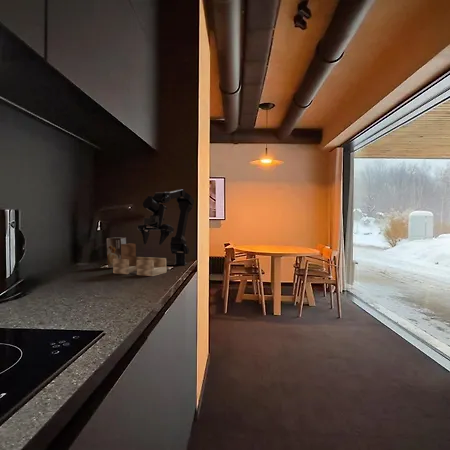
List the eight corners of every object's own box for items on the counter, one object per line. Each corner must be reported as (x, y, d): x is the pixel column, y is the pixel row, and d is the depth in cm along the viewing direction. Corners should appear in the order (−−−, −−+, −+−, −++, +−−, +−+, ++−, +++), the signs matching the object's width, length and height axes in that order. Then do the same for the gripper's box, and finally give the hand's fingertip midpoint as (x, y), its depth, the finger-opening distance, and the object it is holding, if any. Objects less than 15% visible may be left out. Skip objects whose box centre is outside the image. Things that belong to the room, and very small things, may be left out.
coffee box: (128, 266, 217) (127, 237, 216) (121, 268, 211) (121, 238, 210) (113, 266, 220) (112, 237, 219) (106, 267, 213) (106, 238, 213)
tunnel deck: (113, 273, 194) (112, 258, 194) (128, 269, 204) (128, 256, 204) (152, 276, 183) (152, 261, 183) (166, 272, 194) (166, 258, 193)
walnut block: (130, 265, 200) (129, 243, 200) (135, 265, 197) (135, 243, 196) (121, 266, 196) (121, 244, 196) (127, 267, 193) (126, 244, 193)
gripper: (133, 210, 199) (127, 239, 194) (165, 209, 191) (159, 240, 187) (146, 217, 208) (140, 245, 204) (176, 217, 201) (171, 246, 196)
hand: (152, 244), depth 197 cm, fingers open, 9 cm apart
